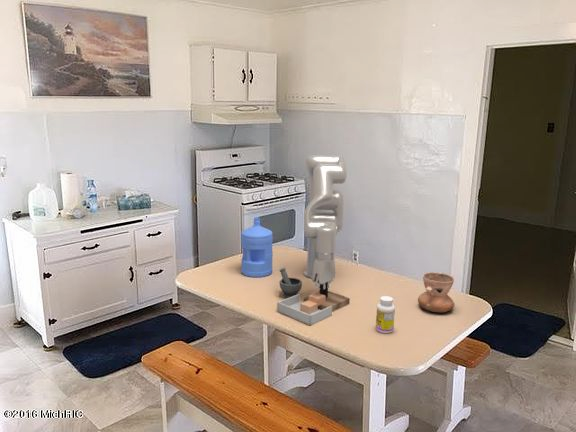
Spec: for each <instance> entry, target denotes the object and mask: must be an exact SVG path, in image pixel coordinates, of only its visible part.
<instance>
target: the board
mask: <svg viewBox="0 0 576 432" xmlns="http://www.w3.org/2000/svg"><path fill="white" fill-rule="evenodd" d="M317 293H319V294H320V290H319V291H318V292H317ZM308 300H309V295H308V296H305V297H303V298H302V303H303V302H305V301H308ZM350 300H351V299H350V298H349V297H347V296H344V295H341V294H339V293H336V292H333V291H330V290H328V297H327V298H326V301H325V303H323V304H321V305H319V306H318V309H320V310H323V309H325V308H327V307H329V306H332V313H333V312H335V311H337V310H339V309H342V308H343V307H346V306H348V305H350Z"/></svg>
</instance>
